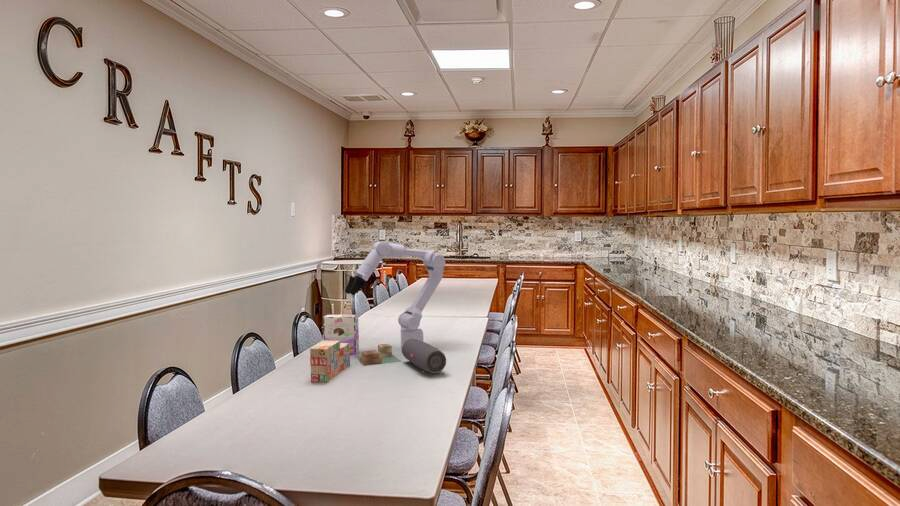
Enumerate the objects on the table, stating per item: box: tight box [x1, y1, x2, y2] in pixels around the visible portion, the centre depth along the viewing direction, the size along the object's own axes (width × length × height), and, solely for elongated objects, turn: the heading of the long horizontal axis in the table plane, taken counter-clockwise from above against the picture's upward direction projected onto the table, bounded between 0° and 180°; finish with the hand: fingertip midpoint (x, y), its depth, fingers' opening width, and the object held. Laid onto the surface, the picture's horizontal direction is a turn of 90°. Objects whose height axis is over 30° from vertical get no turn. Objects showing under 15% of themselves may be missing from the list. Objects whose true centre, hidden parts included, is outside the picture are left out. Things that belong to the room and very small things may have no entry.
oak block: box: [377, 343, 393, 358], centre depth 225 cm, size 4×4×4 cm
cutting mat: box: [354, 354, 402, 367], centre depth 221 cm, size 15×16×1 cm
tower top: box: [361, 349, 379, 360], centre depth 215 cm, size 6×6×2 cm
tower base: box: [359, 355, 382, 366], centre depth 216 cm, size 7×7×2 cm
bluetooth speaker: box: [401, 339, 447, 374], centre depth 207 cm, size 23×9×10 cm, turn 27°
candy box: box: [322, 314, 360, 356], centre depth 231 cm, size 14×6×16 cm, turn 84°
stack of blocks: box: [309, 339, 351, 384], centre depth 201 cm, size 21×6×12 cm, turn 169°
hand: (348, 293), depth 222 cm, fingers open, 7 cm apart
